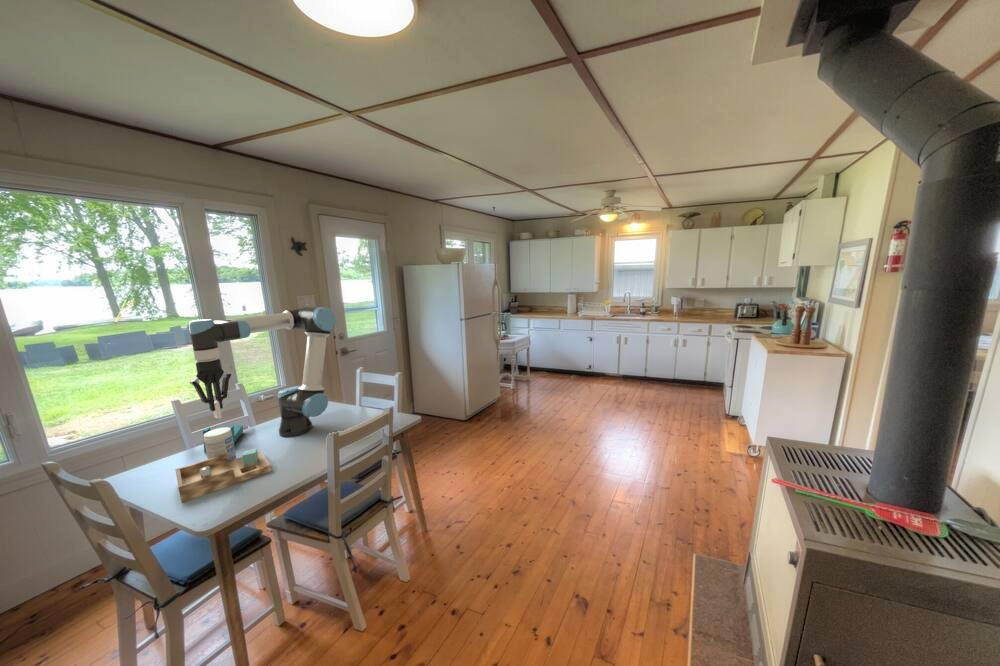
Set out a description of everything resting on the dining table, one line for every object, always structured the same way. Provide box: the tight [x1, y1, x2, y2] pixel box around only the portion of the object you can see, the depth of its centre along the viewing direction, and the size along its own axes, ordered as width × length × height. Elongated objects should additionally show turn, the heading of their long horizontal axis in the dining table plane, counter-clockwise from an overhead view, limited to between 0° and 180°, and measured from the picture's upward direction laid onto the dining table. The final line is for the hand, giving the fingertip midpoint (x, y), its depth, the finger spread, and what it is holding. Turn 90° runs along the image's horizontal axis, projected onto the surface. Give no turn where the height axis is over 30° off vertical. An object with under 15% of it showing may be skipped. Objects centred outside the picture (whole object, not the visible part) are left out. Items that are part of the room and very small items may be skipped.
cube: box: [241, 447, 258, 466], centre depth 150 cm, size 4×4×4 cm
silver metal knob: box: [200, 466, 211, 478], centre depth 135 cm, size 3×3×6 cm
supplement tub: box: [203, 426, 237, 461], centre depth 153 cm, size 10×10×15 cm
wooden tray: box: [175, 450, 272, 504], centre depth 143 cm, size 28×18×6 cm, turn 135°
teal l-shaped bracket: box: [202, 424, 244, 453], centre depth 175 cm, size 18×11×10 cm, turn 22°
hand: (218, 417), depth 142 cm, fingers closed
